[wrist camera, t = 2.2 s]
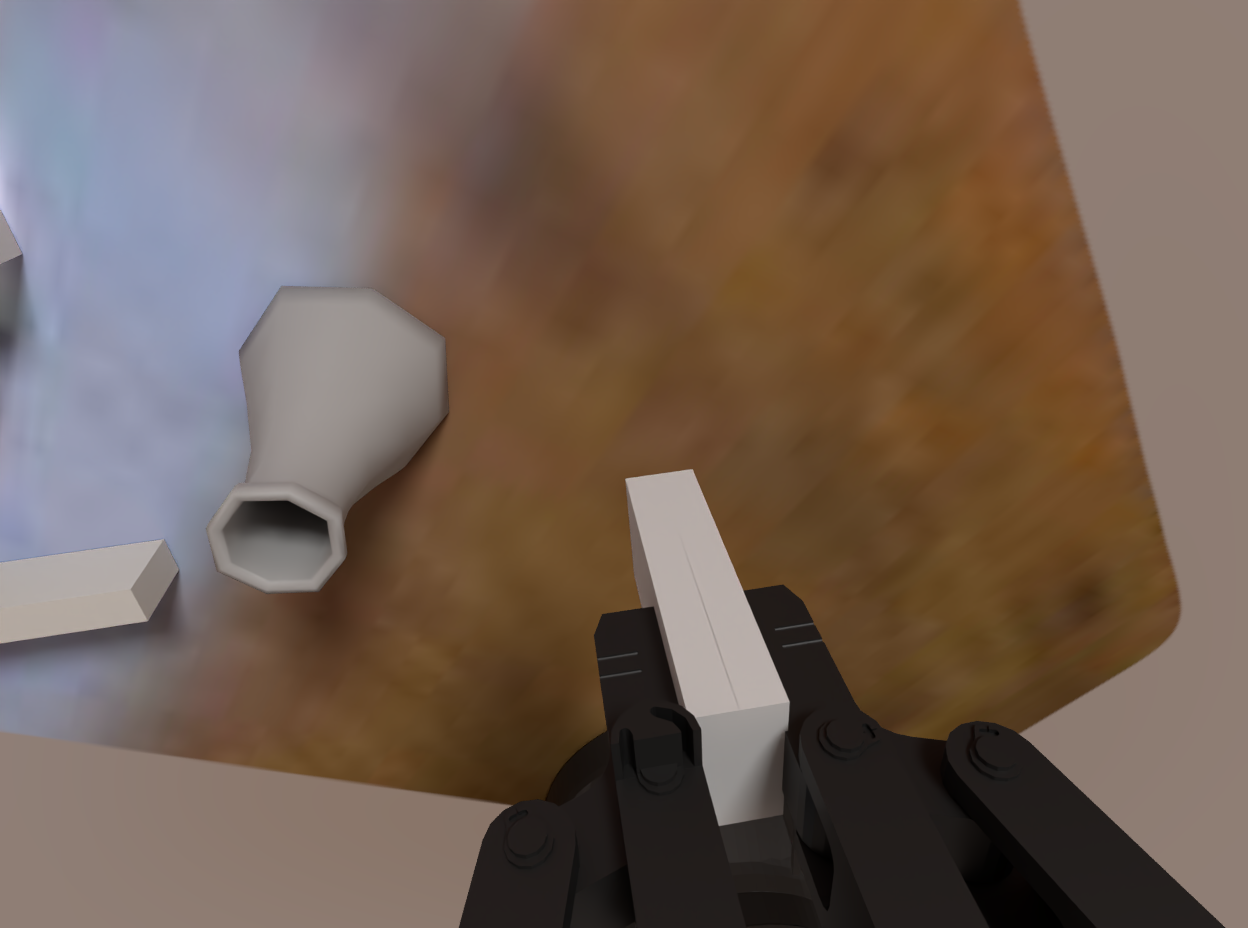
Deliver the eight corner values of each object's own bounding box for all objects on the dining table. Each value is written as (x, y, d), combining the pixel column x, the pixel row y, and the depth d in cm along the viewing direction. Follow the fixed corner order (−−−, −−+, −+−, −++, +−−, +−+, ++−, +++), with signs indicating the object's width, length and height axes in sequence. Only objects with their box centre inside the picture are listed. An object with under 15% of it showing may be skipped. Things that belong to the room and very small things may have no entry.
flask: (477, 320, 26) (466, 461, 17) (424, 487, 29) (391, 676, 20) (259, 248, 24) (122, 368, 15) (225, 436, 27) (96, 625, 18)
